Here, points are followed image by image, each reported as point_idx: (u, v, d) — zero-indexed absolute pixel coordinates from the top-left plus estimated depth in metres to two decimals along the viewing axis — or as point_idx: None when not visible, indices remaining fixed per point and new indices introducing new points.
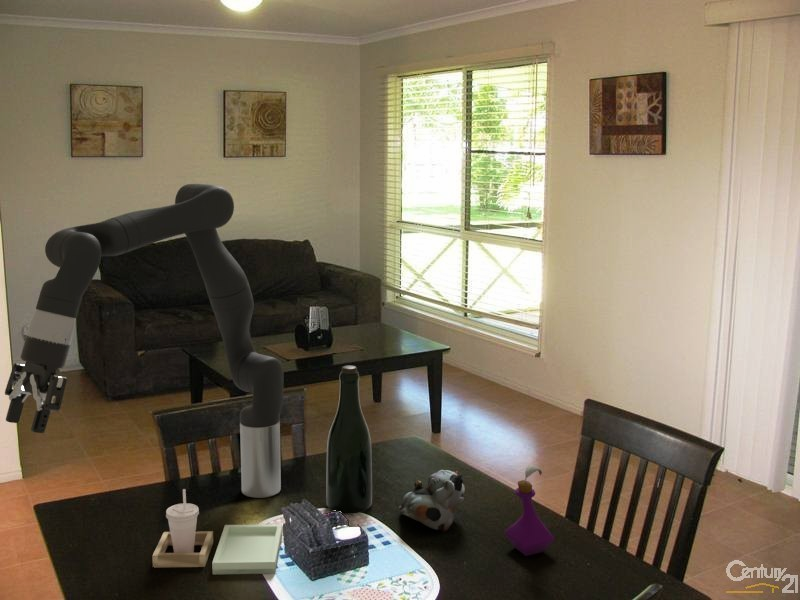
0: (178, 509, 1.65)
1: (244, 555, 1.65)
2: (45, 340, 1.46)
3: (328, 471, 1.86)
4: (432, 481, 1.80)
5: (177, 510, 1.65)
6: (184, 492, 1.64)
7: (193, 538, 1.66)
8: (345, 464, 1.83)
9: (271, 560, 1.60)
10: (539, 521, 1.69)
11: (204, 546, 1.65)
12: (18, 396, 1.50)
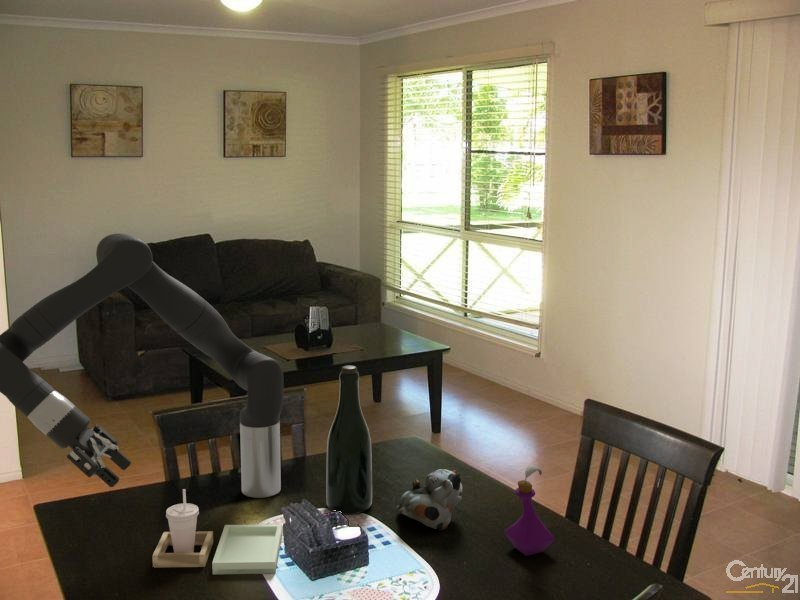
0: (178, 509, 1.65)
1: (244, 555, 1.65)
2: (46, 433, 1.58)
3: (328, 471, 1.86)
4: (430, 480, 1.80)
5: (177, 510, 1.65)
6: (184, 492, 1.64)
7: (193, 538, 1.66)
8: (345, 464, 1.83)
9: (271, 560, 1.60)
10: (539, 521, 1.69)
11: (204, 546, 1.65)
12: (109, 451, 1.66)
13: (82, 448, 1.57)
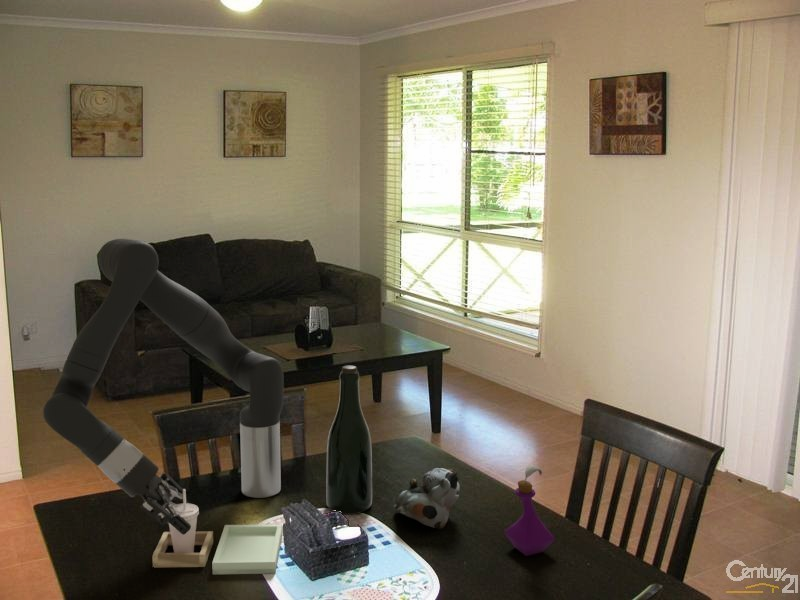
0: (178, 509, 1.65)
1: (244, 555, 1.65)
2: (117, 482, 1.60)
3: (328, 471, 1.86)
4: (428, 479, 1.81)
5: (177, 510, 1.65)
6: (184, 492, 1.64)
7: (193, 538, 1.66)
8: (346, 464, 1.83)
9: (271, 560, 1.60)
10: (539, 521, 1.69)
11: (204, 546, 1.65)
12: (176, 500, 1.68)
13: (153, 497, 1.60)
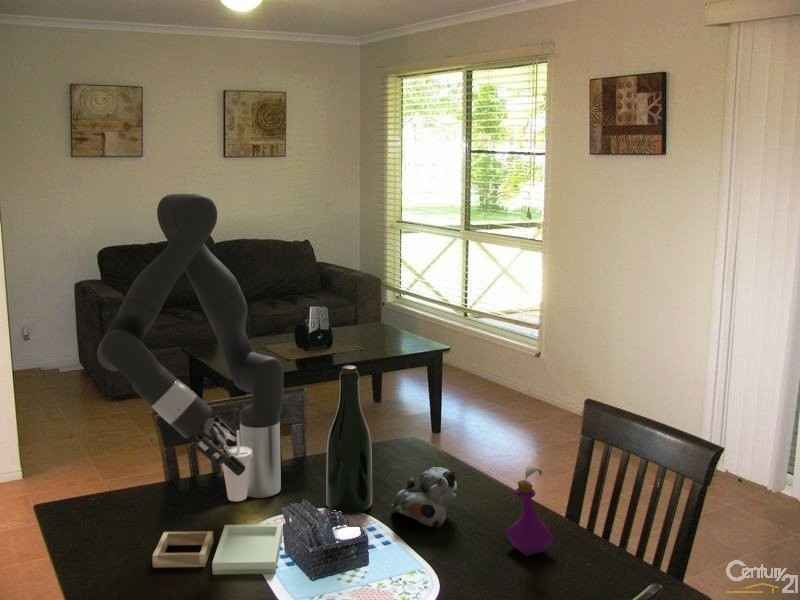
0: (232, 451, 1.63)
1: (244, 555, 1.65)
2: (171, 422, 1.59)
3: (328, 471, 1.86)
4: (425, 478, 1.81)
5: (231, 452, 1.63)
6: (238, 433, 1.63)
7: (247, 480, 1.64)
8: (346, 464, 1.83)
9: (271, 560, 1.60)
10: (539, 521, 1.69)
11: (204, 546, 1.65)
12: (229, 443, 1.67)
13: (208, 437, 1.59)
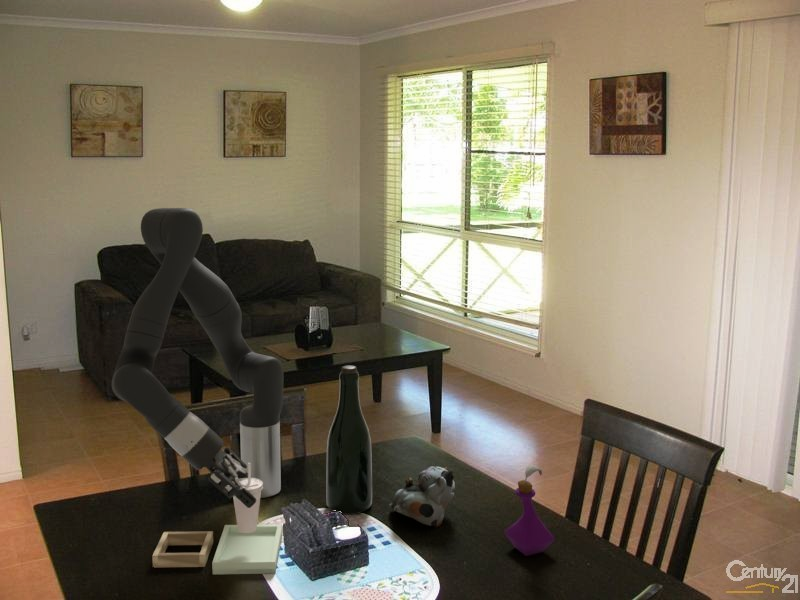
0: (242, 483, 1.65)
1: (244, 555, 1.65)
2: (183, 455, 1.60)
3: (328, 471, 1.86)
4: (423, 478, 1.81)
5: (242, 484, 1.64)
6: (249, 466, 1.64)
7: (257, 512, 1.65)
8: (345, 464, 1.83)
9: (271, 560, 1.60)
10: (539, 521, 1.69)
11: (204, 546, 1.65)
12: (240, 474, 1.68)
13: (219, 470, 1.60)
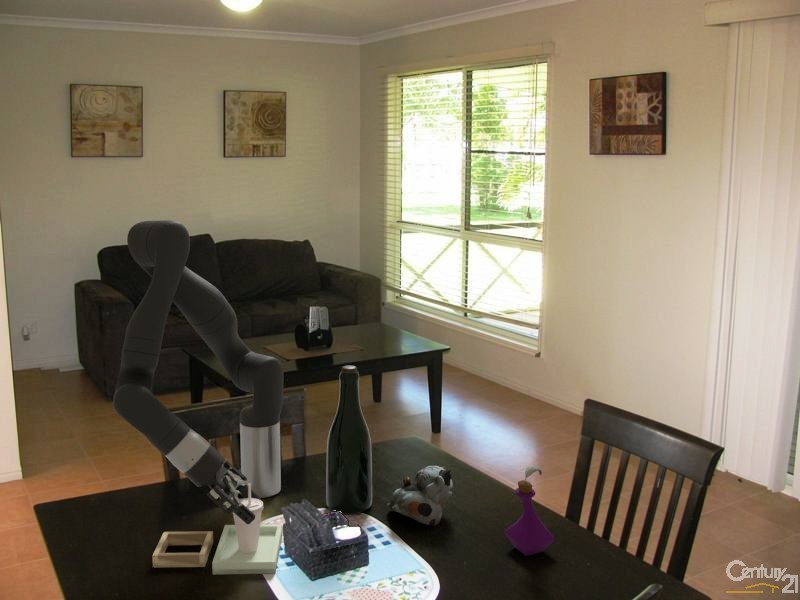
0: (243, 503, 1.65)
1: (244, 555, 1.65)
2: (185, 472, 1.61)
3: (328, 471, 1.86)
4: (421, 477, 1.82)
5: None
6: (249, 486, 1.65)
7: (258, 532, 1.66)
8: (345, 464, 1.83)
9: (271, 560, 1.60)
10: (539, 521, 1.69)
11: (204, 546, 1.65)
12: (240, 487, 1.69)
13: (220, 486, 1.60)
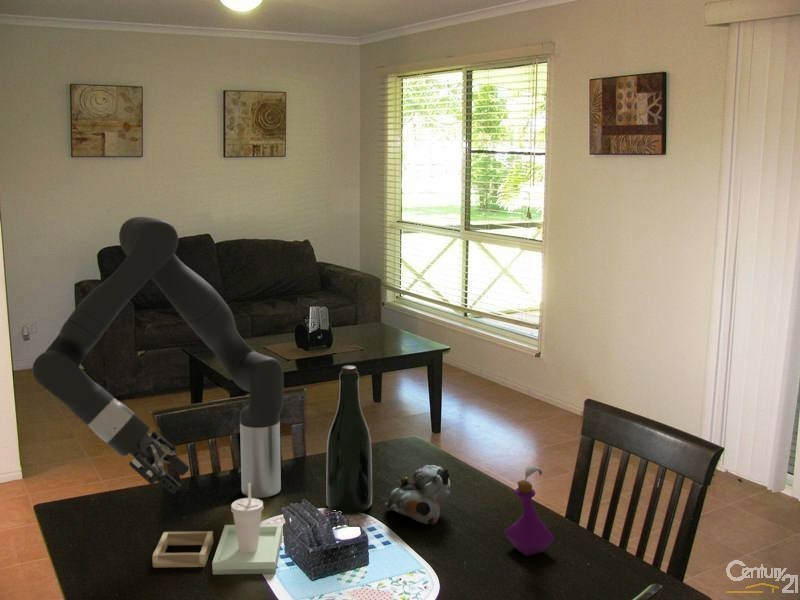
0: (243, 503, 1.65)
1: (244, 555, 1.65)
2: (108, 441, 1.59)
3: (328, 471, 1.86)
4: (419, 476, 1.82)
5: (242, 504, 1.65)
6: (249, 486, 1.65)
7: (258, 532, 1.66)
8: (345, 464, 1.83)
9: (271, 560, 1.60)
10: (539, 521, 1.69)
11: (204, 546, 1.65)
12: (168, 457, 1.67)
13: (143, 455, 1.58)
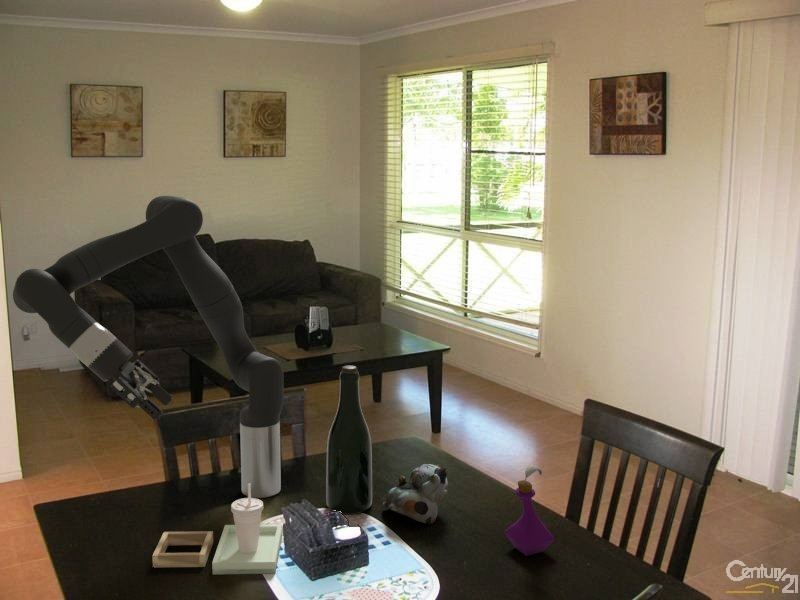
0: (243, 503, 1.65)
1: (244, 555, 1.65)
2: (89, 365, 1.56)
3: (328, 471, 1.86)
4: (417, 475, 1.82)
5: (242, 504, 1.65)
6: (249, 486, 1.65)
7: (258, 532, 1.66)
8: (346, 464, 1.83)
9: (271, 560, 1.60)
10: (539, 521, 1.69)
11: (204, 546, 1.65)
12: (151, 386, 1.64)
13: (125, 379, 1.55)
